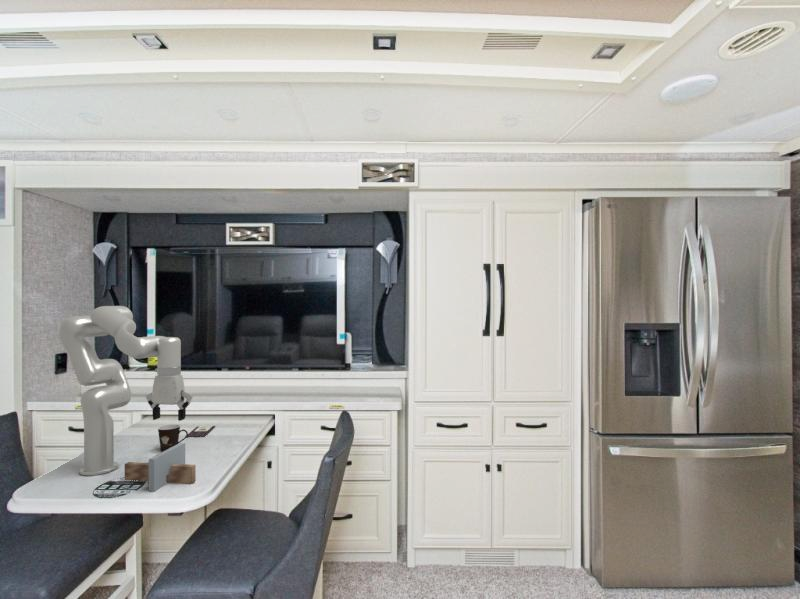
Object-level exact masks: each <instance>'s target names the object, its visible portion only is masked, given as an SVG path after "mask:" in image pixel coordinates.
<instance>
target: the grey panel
mask: <svg viewBox="0 0 800 599" xmlns="http://www.w3.org/2000/svg"><path fill="white" fill-rule="evenodd" d="M148 463H149V482H148V492H150V493H154V492H156V491H157V490H160V489H162V487H165V486H166V485H167V483H166V476H167V475H168V474H170V473H171V466H172V465H174V464H186V442H180V443H178V444H177V445H175V446H173V447H171V448H169V449H167V450H165V451H163V452H161V451H160V452H159V453H158V454H156V455H154V456H151V457H150V458H148Z"/></svg>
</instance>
